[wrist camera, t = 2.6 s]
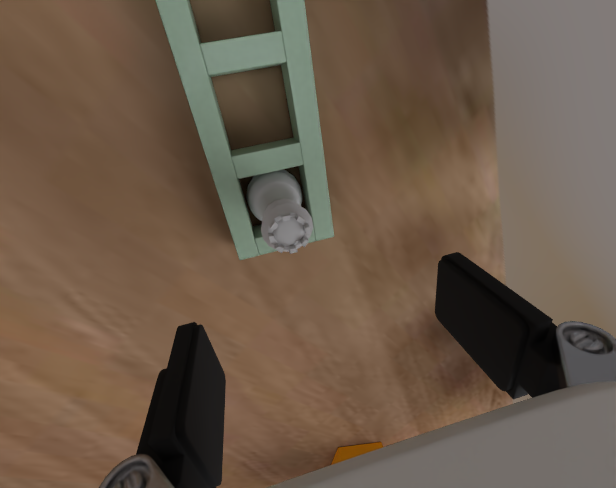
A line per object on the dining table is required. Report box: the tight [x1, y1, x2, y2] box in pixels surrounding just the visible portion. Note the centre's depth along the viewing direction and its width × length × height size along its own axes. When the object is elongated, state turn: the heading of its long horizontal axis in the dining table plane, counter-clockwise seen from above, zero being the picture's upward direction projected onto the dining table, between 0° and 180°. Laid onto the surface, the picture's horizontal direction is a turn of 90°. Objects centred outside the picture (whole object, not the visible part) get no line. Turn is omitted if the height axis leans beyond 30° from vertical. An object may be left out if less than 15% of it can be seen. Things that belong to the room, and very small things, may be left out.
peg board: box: [155, 0, 334, 260], centre depth 20 cm, size 8×21×2 cm, turn 9°
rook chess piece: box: [246, 169, 313, 254], centre depth 21 cm, size 4×4×8 cm
